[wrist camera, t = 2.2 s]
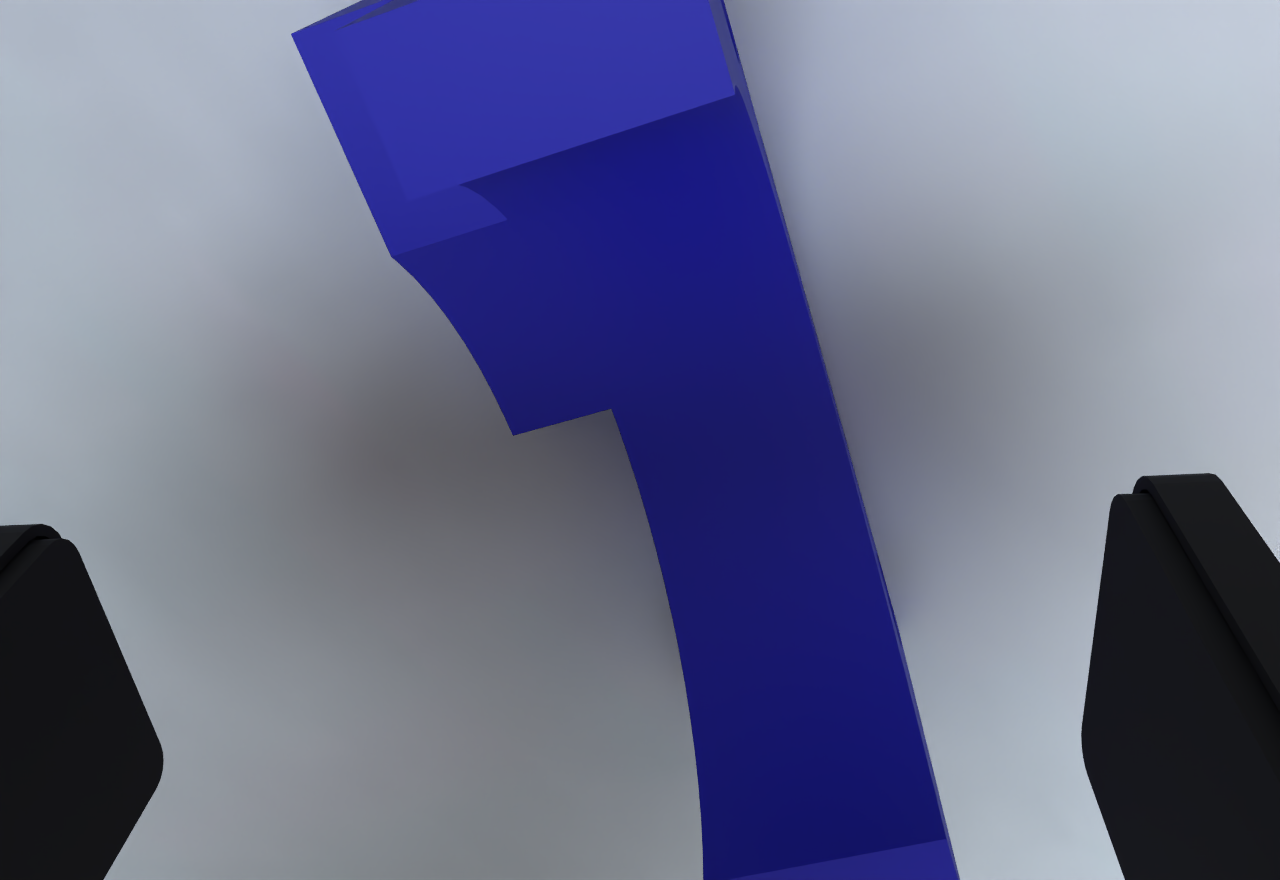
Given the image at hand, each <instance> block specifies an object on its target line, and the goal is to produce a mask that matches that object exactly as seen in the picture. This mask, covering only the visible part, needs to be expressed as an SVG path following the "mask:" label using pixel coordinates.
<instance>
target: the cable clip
mask: <svg viewBox="0 0 1280 880" xmlns="http://www.w3.org/2000/svg"><path fill="white" fill-rule="evenodd" d="M291 35H292V37H293V39H294V42H295V44H296V46H297V48H298V51H299V53H300V55H301V57H302V59H303V62H304V64H305V66H306V68H307V71H308V73H309V75H310V77H311V79H312V82H313V84H314V86H315V88H316V91H317V93H318V95H319V97H320V99H321V102H322V104H323V106H324V108H325V111H326V113H327V115H328V117H329V119H330V122H331V124H332V126H333V128H334V131H335V133H336V135H337V137H338V139H339V142H340V144H341V146H342V148H343V151H344V153H345V155H346V157H347V159H348V162H349V164H350V166H351V168H352V171H353V173H354V175H355V177H356V179H357V182H358V184H359V186H360V188H361V191H362V193H363V195H364V197H365V199H366V202H367V204H368V206H369V208H370V211H371V213H372V215H373V217H374V219H375V222H376V224H377V226H378V228H379V231H380V233H381V235H382V237H383V239H384V242H385V244H386V246H387V248H388V251H389V253H390V255H391V257H392V258H393V259H395V260H396V261H397V262H398V263H399V264H400V265H401V266H402V267H403V268H404V269H406V270H407V271H408V272H409V273H410V274H411V275H412V276H413V277H414V278H415V279H416V280H417V281H418V282H419V283H420V285H421V286H422V287H423V288H424V289H425V290H426V291H427V292H428V294H429V295H430V296H431V297H432V298H433V299H434V301H435V302H436V303H437V305H438V306H439V307H440V309H441V310H442V311H443V312H444V314H445V315H446V316H447V318H448V319H449V320H450V322H451V323H452V325H453V326H454V328H455V329H456V331H457V332H458V334H459V335H460V337H461V338H462V340H463V341H464V343H465V344H466V346H467V348H468V349H469V351H470V353H471V354H472V356H473V358H474V359H475V361H476V363H477V364H478V366H479V368H480V370H481V371H482V373H483V375H484V377H485V379H486V381H487V383H488V385H489V386H490V388H491V390H492V392H493V394H494V396H495V398H496V400H497V402H498V404H499V407H500V409H501V411H502V413H503V415H504V417H505V419H506V421H507V423H508V426H509V428H510V430H511V432H512V435H513V436H514V435H517V434H521V433H525V432H528V431H532V430H535V429H539V428H543V427H546V426H550V425H554V424H557V423H561V422H564V421H568V420H572V419H575V418H579V417H583V416H586V415H590V414H593V413H597V412H601V411H604V410H608V409H612V412H613V414H614V417H615V420H616V422H617V425H618V428H619V431H620V434H621V437H622V439H623V442H624V445H625V448H626V451H627V454H628V457H629V460H630V463H631V466H632V469H633V472H634V475H635V478H636V481H637V485H638V488H639V491H640V495H641V498H642V501H643V505H644V508H645V511H646V515H647V518H648V522H649V525H650V529H651V533H652V536H653V540H654V544H655V547H656V551H657V555H658V559H659V563H660V567H661V571H662V575H663V579H664V583H665V587H666V592H667V596H668V601H669V605H670V609H671V614H672V619H673V623H674V628H675V633H676V638H677V643H678V648H679V653H680V659H681V664H682V670H683V675H684V681H685V687H686V693H687V699H688V706H689V712H690V719H691V726H692V733H693V741H694V748H695V757H696V766H697V776H698V785H699V797H700V810H701V825H702V844H703V880H960V878H959V874H958V870H957V866H956V862H955V858H954V854H953V850H952V845H951V841H950V837H949V833H948V829H947V825H946V821H945V817H944V813H943V809H942V805H941V801H940V796H939V792H938V788H937V784H936V780H935V776H934V772H933V768H932V764H931V760H930V756H929V752H928V747H927V743H926V739H925V735H924V731H923V727H922V723H921V719H920V715H919V711H918V707H917V703H916V699H915V694H914V690H913V686H912V682H911V678H910V674H909V670H908V666H907V662H906V658H905V654H904V650H903V645H902V641H901V637H900V633H899V629H898V626H897V622H896V618H895V615H894V611H893V608H892V604H891V600H890V597H889V593H888V590H887V586H886V582H885V579H884V575H883V572H882V568H881V565H880V561H879V557H878V554H877V550H876V547H875V543H874V539H873V536H872V532H871V529H870V525H869V521H868V518H867V514H866V511H865V507H864V503H863V500H862V496H861V493H860V489H859V485H858V482H857V478H856V475H855V471H854V468H853V464H852V460H851V457H850V453H849V450H848V446H847V442H846V439H845V435H844V432H843V428H842V424H841V421H840V417H839V414H838V410H837V406H836V403H835V399H834V396H833V392H832V388H831V385H830V381H829V378H828V374H827V371H826V367H825V363H824V360H823V356H822V353H821V349H820V345H819V342H818V338H817V335H816V331H815V327H814V324H813V320H812V317H811V313H810V309H809V306H808V302H807V299H806V295H805V291H804V288H803V284H802V281H801V277H800V274H799V270H798V266H797V263H796V259H795V256H794V252H793V248H792V245H791V241H790V238H789V234H788V230H787V227H786V223H785V220H784V216H783V212H782V209H781V205H780V202H779V198H778V194H777V191H776V187H775V184H774V180H773V176H772V173H771V169H770V166H769V162H768V159H767V155H766V151H765V148H764V144H763V141H762V137H761V133H760V130H759V126H758V123H757V119H756V115H755V112H754V108H753V105H752V101H751V97H750V94H749V90H748V87H747V83H746V79H745V76H744V72H743V69H742V65H741V62H740V58H739V54H738V51H737V47H736V44H735V40H734V36H733V33H732V29H731V26H730V22H729V18H728V15H727V11H726V8H725V4H724V0H362V1H360V2H358V3H355V4H353V5H351V6H349V7H347V8H345V9H343V10H341V11H339V12H336V13H334V14H332V15H330V16H328V17H326V18H324V19H322V20H320V21H317V22H315V23H313V24H311V25H309V26H307V27H305V28H303V29H301V30H298V31H296V32H294V33H292V34H291Z"/></svg>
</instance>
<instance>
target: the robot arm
mask: <svg viewBox="0 0 1280 880" xmlns="http://www.w3.org/2000/svg"><path fill="white" fill-rule="evenodd" d="M1081 738H1082V752H1083V758H1084V763H1085V768H1086V771H1087V775H1088V777H1089V780H1090V783H1091V786H1092V789H1093V791H1094V794H1095V797H1096V800H1097V803H1098V805H1099V808H1100V811H1101V814H1102V817H1103V819H1104V822H1105V825H1106V828H1107V831H1108V833H1109V836H1110V839H1111V842H1112V845H1113V847H1114V850H1115V853H1116V856H1117V859H1118V861H1119V864H1120V867H1121V870H1122V873H1123V875H1124V878H1125V880H1280V563H1279V561H1278V560H1277V558H1276V557H1275V556H1274V554H1273V553H1272V551H1271V550H1270V549H1269V547H1268V546H1267V544H1266V543H1265V541H1264V540H1263V539H1262V537H1261V536H1260V534H1259V533H1258V531H1257V530H1256V529H1255V527H1254V526H1253V524H1252V523H1251V522H1250V520H1249V519H1248V517H1247V516H1246V514H1245V513H1244V512H1243V510H1242V509H1241V507H1240V506H1239V504H1238V503H1237V502H1236V500H1235V499H1234V497H1233V496H1232V495H1231V493H1230V492H1229V490H1228V489H1227V487H1226V486H1225V485H1224V483H1223V482H1222V481H1221V480H1220V479H1219V478H1218V477H1217V476H1216V475H1215V474H1210V473H1204V474H1181V475H1158V476H1142V477H1141V478H1139V479H1138V480H1137V482H1136V484H1135V486H1134V489H1133V493H1132V494H1117V495H1116V496H1115V497H1114V498H1113V501H1112V503H1111V508H1110V513H1109V521H1108V529H1107V536H1106V544H1105V552H1104V560H1103V567H1102V575H1101V583H1100V590H1099V598H1098V606H1097V614H1096V621H1095V629H1094V637H1093V645H1092V652H1091V660H1090V668H1089V675H1088V683H1087V691H1086V699H1085V706H1084V714H1083V722H1082V733H1081ZM162 771H163V751H162V747H161V744H160V742H159V739H158V737H157V735H156V732H155V730H154V727H153V725H152V723H151V720H150V718H149V716H148V713H147V711H146V709H145V706H144V704H143V702H142V699H141V697H140V695H139V692H138V690H137V688H136V685H135V683H134V680H133V678H132V676H131V673H130V671H129V669H128V666H127V664H126V662H125V659H124V657H123V655H122V652H121V650H120V648H119V645H118V643H117V640H116V638H115V636H114V633H113V631H112V629H111V626H110V624H109V622H108V619H107V617H106V615H105V612H104V610H103V608H102V605H101V603H100V601H99V598H98V596H97V593H96V591H95V589H94V586H93V584H92V582H91V579H90V577H89V575H88V572H87V570H86V568H85V565H84V563H83V561H82V558H81V556H80V553H79V552H78V550H77V548H76V547H75V545H74V544H73V543H72V542H70V541H69V540H66V539H63V538H61V536H60V535H59V533H58V532H57V531H55V530H54V529H53V528H52V527H50V526H47V525H44V524H31V525H8V526H0V880H103V879H104V878H105V876H106V874H107V873H108V871H109V869H110V867H111V866H112V864H113V862H114V861H115V859H116V857H117V855H118V854H119V852H120V850H121V849H122V847H123V845H124V843H125V842H126V840H127V838H128V836H129V835H130V833H131V831H132V830H133V828H134V826H135V824H136V823H137V821H138V819H139V818H140V816H141V814H142V812H143V811H144V809H145V807H146V805H147V804H148V802H149V800H150V799H151V797H152V795H153V793H154V792H155V790H156V788H157V786H158V784H159V782H160V779H161V775H162Z"/></svg>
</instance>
